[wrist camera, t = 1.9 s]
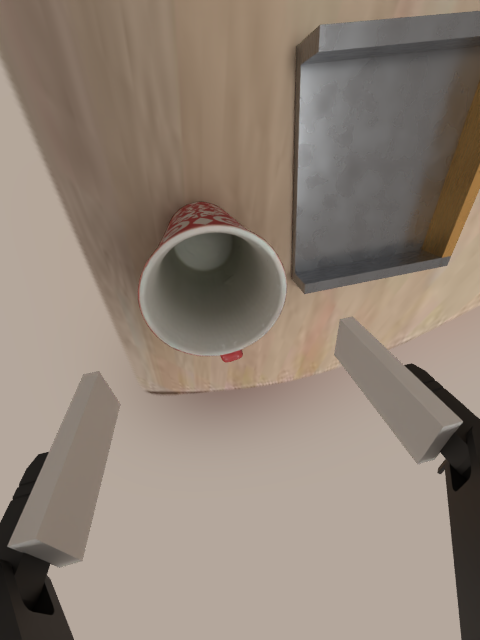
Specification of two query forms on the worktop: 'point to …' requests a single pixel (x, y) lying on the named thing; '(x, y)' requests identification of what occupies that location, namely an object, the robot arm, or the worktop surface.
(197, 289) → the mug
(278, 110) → the worktop surface
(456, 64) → the tray
